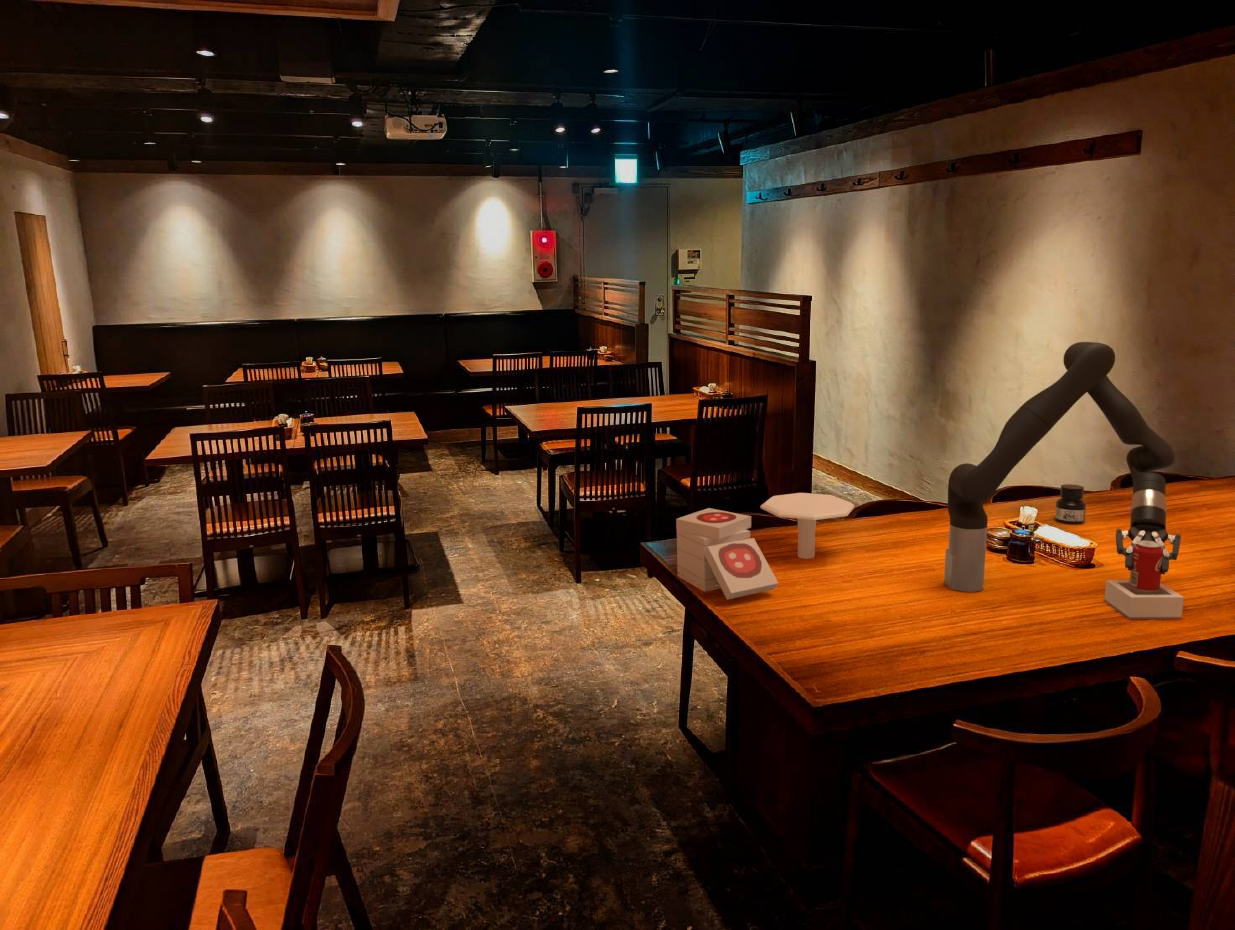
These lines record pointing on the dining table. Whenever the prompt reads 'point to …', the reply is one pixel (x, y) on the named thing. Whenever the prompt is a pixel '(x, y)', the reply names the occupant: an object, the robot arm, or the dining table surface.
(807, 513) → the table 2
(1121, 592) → the well holder
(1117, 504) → the dining table surface
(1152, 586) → the beverage can
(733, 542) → the pizza boxes
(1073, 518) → the ink bottle
